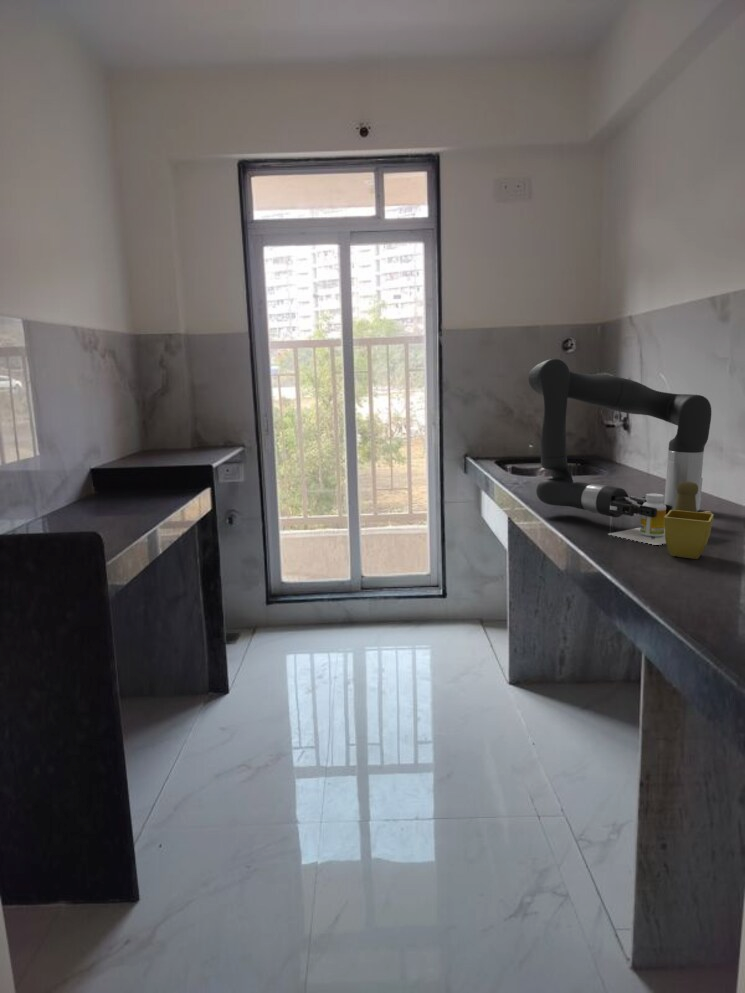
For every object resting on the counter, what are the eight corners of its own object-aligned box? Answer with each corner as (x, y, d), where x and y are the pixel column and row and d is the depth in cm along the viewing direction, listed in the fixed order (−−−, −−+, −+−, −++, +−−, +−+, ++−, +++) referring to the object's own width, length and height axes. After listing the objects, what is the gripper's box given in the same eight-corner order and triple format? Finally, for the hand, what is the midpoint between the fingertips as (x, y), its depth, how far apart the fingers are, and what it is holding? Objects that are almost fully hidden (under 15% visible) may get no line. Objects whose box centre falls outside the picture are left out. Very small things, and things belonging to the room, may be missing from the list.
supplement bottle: (667, 534, 158) (671, 494, 156) (658, 538, 155) (661, 497, 153) (645, 530, 162) (648, 491, 160) (636, 534, 158) (639, 494, 157)
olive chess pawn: (699, 526, 170) (703, 484, 168) (674, 525, 171) (678, 483, 169) (693, 521, 175) (697, 480, 174) (669, 520, 177) (672, 480, 175)
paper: (652, 526, 170) (652, 524, 170) (700, 535, 159) (700, 534, 159) (608, 534, 160) (608, 533, 160) (655, 546, 149) (656, 544, 149)
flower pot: (706, 563, 135) (710, 521, 134) (660, 557, 140) (664, 516, 138) (710, 554, 143) (714, 513, 141) (667, 548, 147) (670, 509, 146)
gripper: (586, 488, 165) (646, 499, 151) (623, 483, 172) (683, 493, 158) (584, 517, 166) (643, 530, 152) (621, 511, 174) (680, 523, 160)
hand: (663, 511), depth 155 cm, fingers closed on supplement bottle, 5 cm apart
